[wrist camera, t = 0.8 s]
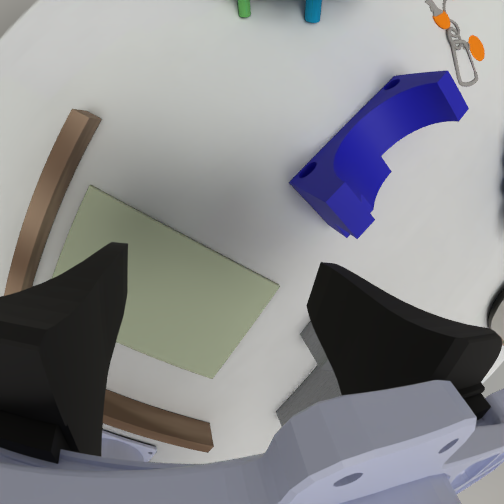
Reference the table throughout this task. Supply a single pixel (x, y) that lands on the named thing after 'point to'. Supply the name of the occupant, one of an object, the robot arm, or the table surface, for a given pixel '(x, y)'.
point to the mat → (170, 286)
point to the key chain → (473, 43)
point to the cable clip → (373, 147)
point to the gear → (310, 10)
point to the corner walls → (26, 263)
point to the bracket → (311, 381)
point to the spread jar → (497, 316)
